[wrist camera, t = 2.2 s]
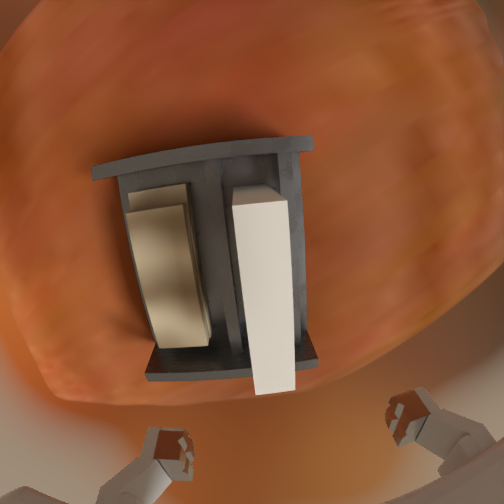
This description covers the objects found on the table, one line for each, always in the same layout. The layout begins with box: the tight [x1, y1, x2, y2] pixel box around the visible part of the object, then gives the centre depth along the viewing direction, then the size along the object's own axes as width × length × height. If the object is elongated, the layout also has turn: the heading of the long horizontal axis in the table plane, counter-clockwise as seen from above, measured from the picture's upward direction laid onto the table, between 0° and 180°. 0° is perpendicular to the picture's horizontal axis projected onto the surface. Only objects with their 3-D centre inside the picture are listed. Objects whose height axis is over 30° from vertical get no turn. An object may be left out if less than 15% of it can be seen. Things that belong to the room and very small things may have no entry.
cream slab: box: [232, 184, 295, 395], centre depth 23 cm, size 14×3×12 cm, turn 6°
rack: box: [91, 136, 318, 381], centre depth 27 cm, size 22×18×7 cm
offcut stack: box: [126, 182, 212, 348], centre depth 27 cm, size 16×6×4 cm, turn 6°
